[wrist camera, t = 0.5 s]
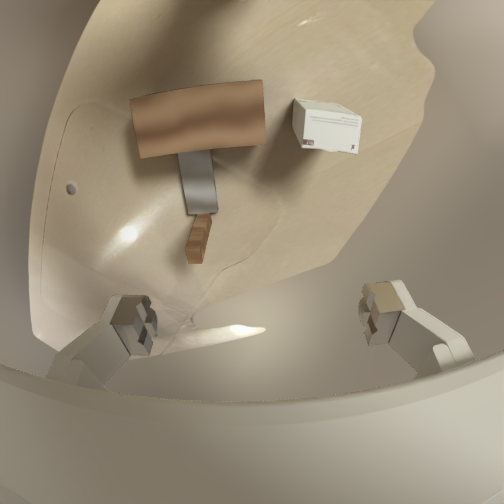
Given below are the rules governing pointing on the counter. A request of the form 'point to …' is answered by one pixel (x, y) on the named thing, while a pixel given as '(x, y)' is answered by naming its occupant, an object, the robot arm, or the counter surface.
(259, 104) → the small wooden table
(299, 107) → the skincare box
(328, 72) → the counter surface
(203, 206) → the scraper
